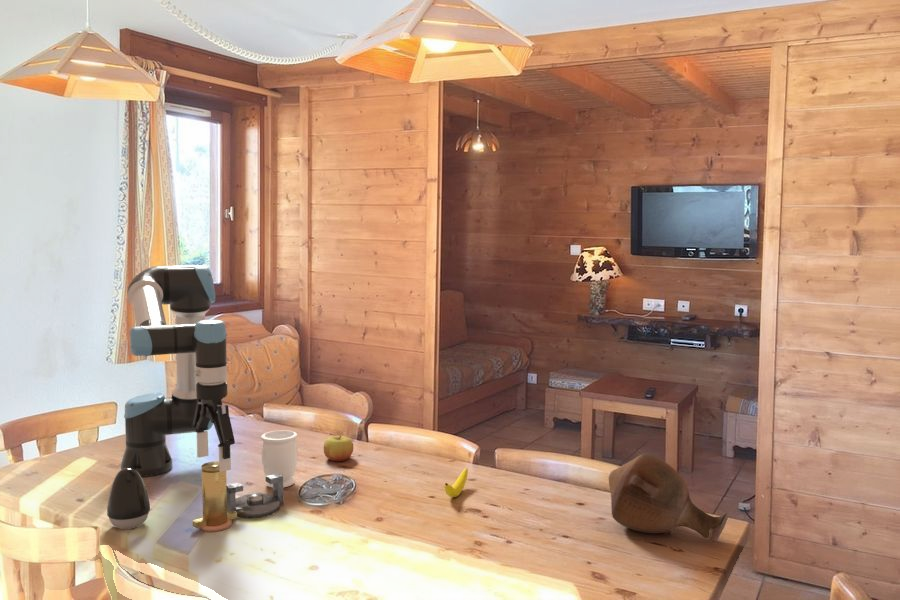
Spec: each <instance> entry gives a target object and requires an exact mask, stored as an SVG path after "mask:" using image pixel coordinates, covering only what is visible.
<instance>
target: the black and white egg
mask: <svg viewBox="0 0 900 600" xmlns="http://www.w3.org/2000/svg"><path fill="white" fill-rule="evenodd" d="M150 510H151V502H150V499H149V494H148V491H147V487H146V485H145V482H144V480H143V477H141V476H140V474H139V473H138V472H137V471H136V470H135V469H133V468H124V469H122V470H121V469H120V470H119V471H118V472H117V473H116V475H115V477H114V478H113V481H112V484H111V487H110V491H109V495H108V499H107V508H106V515H107V517H108V519H109V521H110V523H111V524H112V525H113V527H115V528H117V529H121V530H131V529H135V528H138V527H140V526H141V525H143V524H144V523H145V522H146V520H147V518H148V516H149V513H150V512H151V511H150Z"/></svg>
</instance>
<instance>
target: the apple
mask: <svg viewBox="0 0 900 600" xmlns="http://www.w3.org/2000/svg"><path fill="white" fill-rule="evenodd" d="M323 453H324V455H325V458H326V459H328V460H330V461H332V462H345V461H347V460H348V459H350V457H351V456H352V455H353V453H354V443H353V441H352V440H351V438H350V437H347V436H345V435H333V436H330V437H328V438H326V440H325V441H324V443H323Z"/></svg>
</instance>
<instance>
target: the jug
mask: <svg viewBox="0 0 900 600" xmlns="http://www.w3.org/2000/svg"><path fill="white" fill-rule="evenodd" d="M608 486H609V493H610V500H611V502H610V503H611V516H612V518H613V519H614V520H615V521H616V522H617V523H618V524H620V525H621V526H622V527H625V528H627V529H630V530H632V531H635V532H640V533H644V534H662V533H667V534H668V535H673V534H674V529H676V527H677V528H678V527H685V528H687V529H690V530H692V531H694V532H696V533H698V534H699V535H701V536H702V537H703V538H704V539H705V540H711V541H713V542H717V541H718V540H719V538H720V536H721V534H722V532H723V530H724V529H725V527H726V523H727V521H728V519H729V513H728V512H726V513H724V514H723V515H720V516H713V515H710V514H709V513H707V512H704V511H703V510H701V508H699V507H697V506H696V505H695V504H694V503H693V501H692V500H691V497H690V493H689V489H688V486H687V483H686V482H685V480H684V478H683V477H682V475H681V474H680V473H679V472H678V471H677V470H676V469H675V468H674V467H672V466H671V465H670V464H669V463H668V462H666V461H665V460H663V459H662V458H661V457H659V456H656V455H655V454H654V455H653V454H652V453H647V452H646V453H645V452H644V453H641V454H639V455H637V456H636V457H635V458H633V459H632V460H629V462H627V463H624V464H623V465H621V466H619V467H617V468H614V469H613V470H612V471H611V472H610V473H609V475H608Z"/></svg>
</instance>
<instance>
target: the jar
mask: <svg viewBox="0 0 900 600" xmlns="http://www.w3.org/2000/svg"><path fill="white" fill-rule="evenodd" d="M297 437H298V432H295V431H293V430H287V429H286V430H272V431H267V432H264V433H263V434H261V440H262V447H261V462H262V466H263V472H264V476H265V477H266V476H268V475H273V474H277V473H278V474H280V475H282V476H283V489H285V488H287V487H290V486H292V485H294V484H295V479H294V476H295V473H296V470H297V463H298V444H297V440H296V439H297ZM265 485H266V486H267V487H269V488H272V489H273V484H269V483H268V482H266V481H265Z"/></svg>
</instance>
